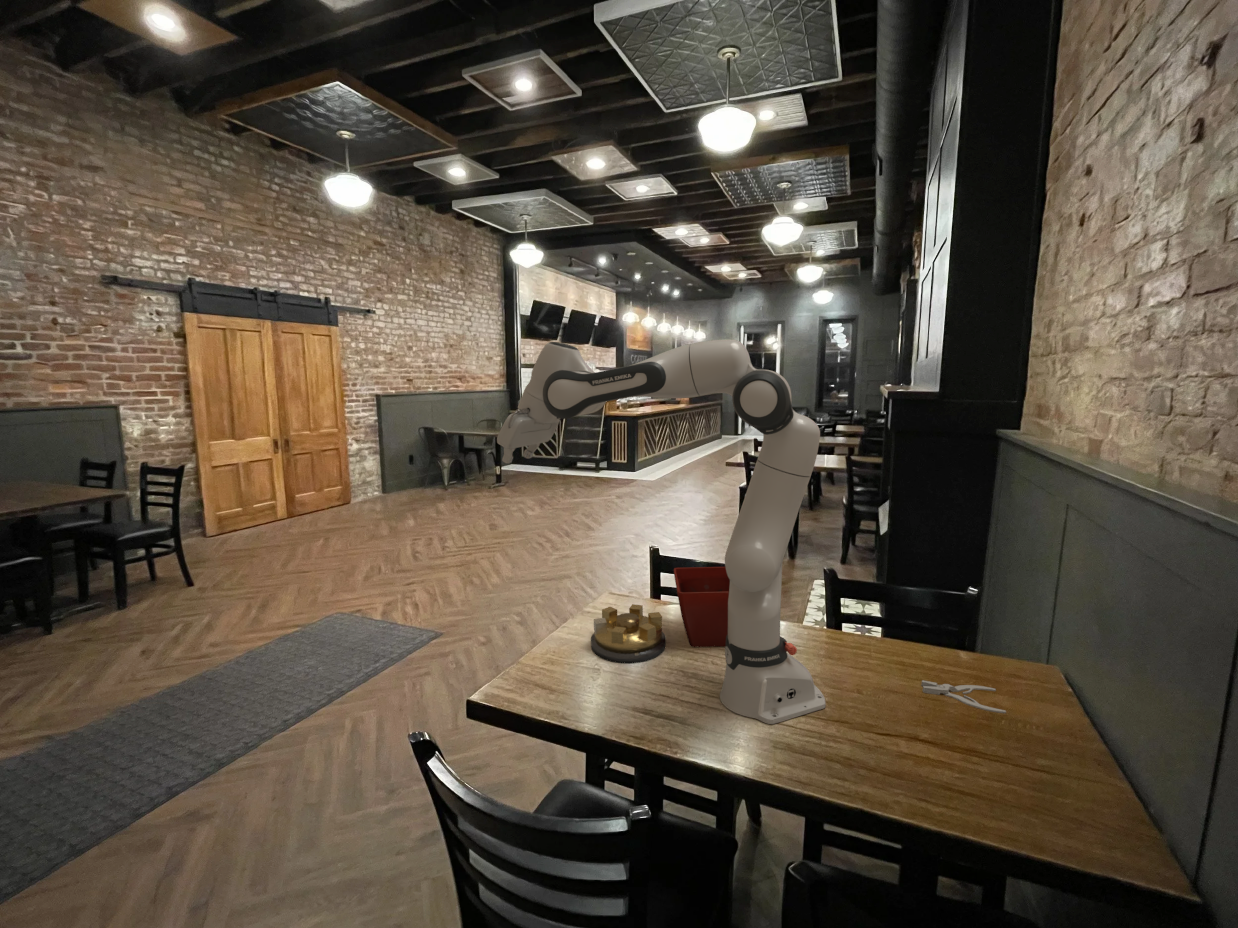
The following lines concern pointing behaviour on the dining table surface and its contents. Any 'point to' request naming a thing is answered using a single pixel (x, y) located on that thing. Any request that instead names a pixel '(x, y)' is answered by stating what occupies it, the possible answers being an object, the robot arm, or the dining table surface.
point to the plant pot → (704, 604)
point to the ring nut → (628, 630)
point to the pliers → (944, 689)
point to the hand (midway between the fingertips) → (516, 459)
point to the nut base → (628, 656)
